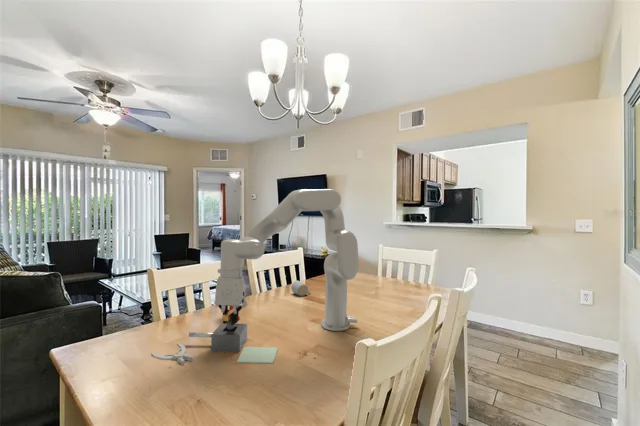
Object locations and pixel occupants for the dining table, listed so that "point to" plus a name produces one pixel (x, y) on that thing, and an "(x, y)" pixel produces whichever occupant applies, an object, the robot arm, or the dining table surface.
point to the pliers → (179, 357)
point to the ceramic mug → (300, 288)
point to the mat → (257, 355)
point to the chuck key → (229, 320)
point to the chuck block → (226, 338)
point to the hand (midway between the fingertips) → (230, 322)
